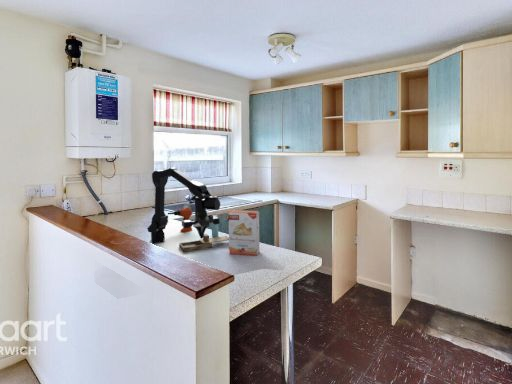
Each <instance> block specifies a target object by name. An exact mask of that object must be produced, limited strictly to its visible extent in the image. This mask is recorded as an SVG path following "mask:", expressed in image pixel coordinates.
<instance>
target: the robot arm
mask: <svg viewBox="0 0 512 384" xmlns="http://www.w3.org/2000/svg"><path fill="white" fill-rule="evenodd" d="M170 177H172V178H173V179H175V180H176V181H178V182H179V183H180V184H182V185H183V186H185V187H186V188H188V190H189V192H190V193H191V194H192V195H193V196H192V197H191V198H190V201H193V203H194V220H193V221H192V220H190V219H189V220H184V221H183V220H182V221H181V226H182V228H183V227H184V228H190V227H192V228H195V229H196V230H197V233H198V236H199V237H200V238H199V239H203V236H204V234H205V232H206V230H207V228H208V227H210V224H212V223H213V224H218V225H220V223H221V221H220V218H219V217H218V218H217V217H213V216H214V215H213V214H210V215H208V213H207V212H208V211H209V210H210V211H211V210H212V211H218V210H220V208H221V201H220V199H219V197H218V196H212V194H211V192H209V190H208V187H207V185H206V184H204V183H202V182H200V181H195V180H193V179H192V178H190V177H189V176H187V175H186V174H184V173H183V172H182V171H180V170H179V169H178V168H176V167H170V168H168V169H157V170H154V171H153V172H152V174H151V179H152V183H153V186H154V187H155V188H154V214H153V215H152V217H151V221H150V224H149V226H147V228H146V229H147V231H148V233H150V242H151V244H159V243H164V242H165V239H166V238H165V232H164V230H165V229H166V226H167V225H168V223H169V214H167V215H166V213H165V194H166V193H165V191H166V188H165V187H166V186H167V183H168V181H169V178H170ZM207 210H208V211H207Z"/></svg>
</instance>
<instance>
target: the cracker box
mask: <svg viewBox="0 0 512 384" xmlns="http://www.w3.org/2000/svg"><path fill="white" fill-rule="evenodd" d="M227 213H228V237H229V240H228V247H229V248H228V250H229V251H228V253H229V254H230V255H242V256H244V255H246V256H258V255H259V253H260V211H259V210H245V209H244V210H240V209H231V210H230V211H228V212H227Z"/></svg>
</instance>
